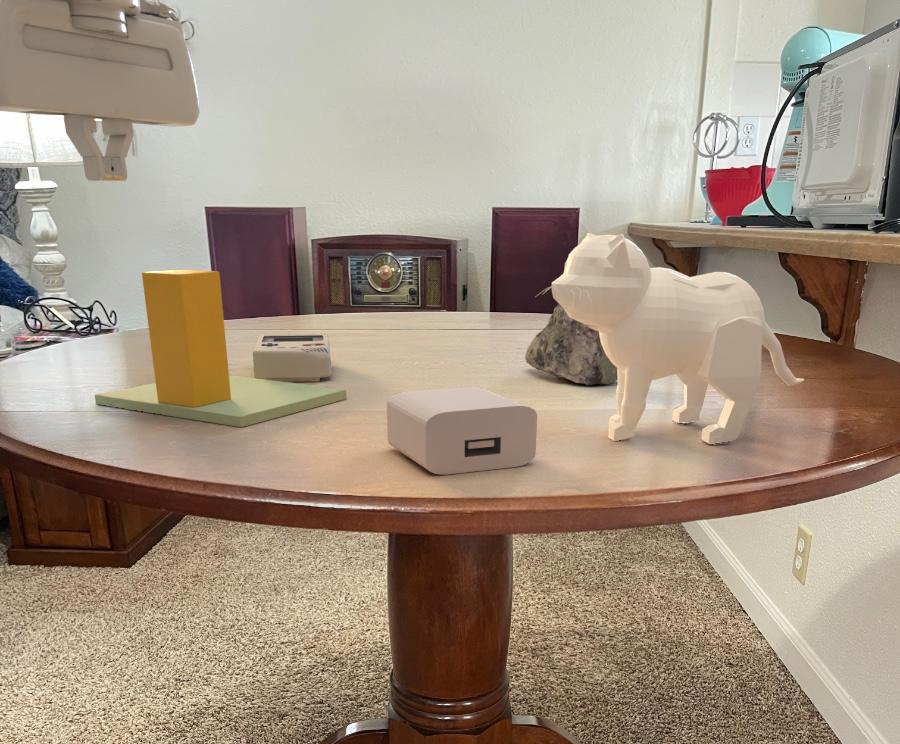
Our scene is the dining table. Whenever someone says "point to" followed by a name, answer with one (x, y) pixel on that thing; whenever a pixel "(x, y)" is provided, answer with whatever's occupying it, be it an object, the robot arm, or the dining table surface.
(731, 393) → the cat figurine
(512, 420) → the charger
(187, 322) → the block
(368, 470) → the dining table surface
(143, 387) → the mat
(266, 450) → the dining table surface
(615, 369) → the mineral rock
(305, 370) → the handheld gaming device
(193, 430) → the dining table surface
